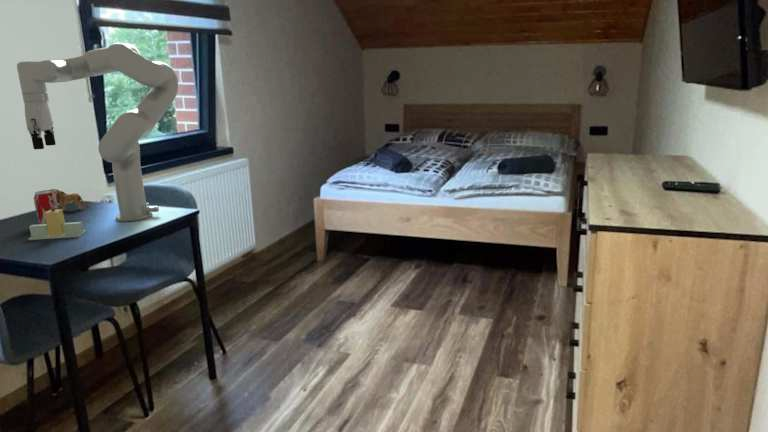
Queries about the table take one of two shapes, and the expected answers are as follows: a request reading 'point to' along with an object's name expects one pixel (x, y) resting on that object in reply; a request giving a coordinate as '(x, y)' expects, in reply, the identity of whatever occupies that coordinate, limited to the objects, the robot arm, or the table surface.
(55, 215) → the tan rectangular block
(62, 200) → the lion figurine
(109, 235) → the table surface
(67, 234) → the cream holder stand
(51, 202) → the soda can
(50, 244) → the table surface
